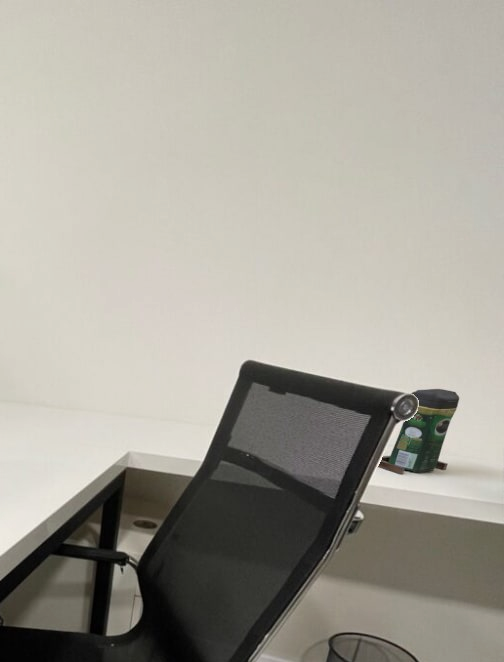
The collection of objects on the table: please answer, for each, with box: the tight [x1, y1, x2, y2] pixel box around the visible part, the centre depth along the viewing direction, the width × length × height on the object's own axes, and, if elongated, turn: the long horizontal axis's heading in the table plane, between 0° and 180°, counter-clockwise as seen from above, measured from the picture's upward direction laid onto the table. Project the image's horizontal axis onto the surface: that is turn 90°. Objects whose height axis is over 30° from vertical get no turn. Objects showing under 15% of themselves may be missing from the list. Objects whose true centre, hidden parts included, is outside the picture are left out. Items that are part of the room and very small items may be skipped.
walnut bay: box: [378, 455, 449, 475], centre depth 131 cm, size 8×16×2 cm, turn 111°
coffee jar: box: [389, 388, 460, 473], centre depth 127 cm, size 10×8×19 cm
